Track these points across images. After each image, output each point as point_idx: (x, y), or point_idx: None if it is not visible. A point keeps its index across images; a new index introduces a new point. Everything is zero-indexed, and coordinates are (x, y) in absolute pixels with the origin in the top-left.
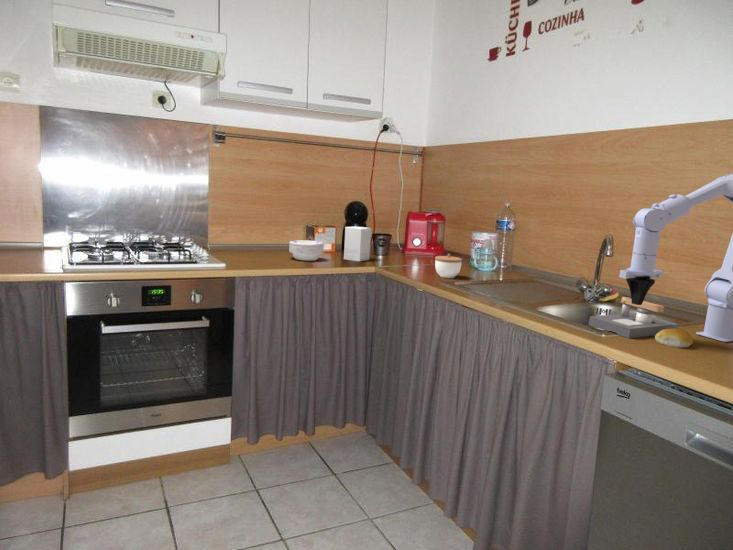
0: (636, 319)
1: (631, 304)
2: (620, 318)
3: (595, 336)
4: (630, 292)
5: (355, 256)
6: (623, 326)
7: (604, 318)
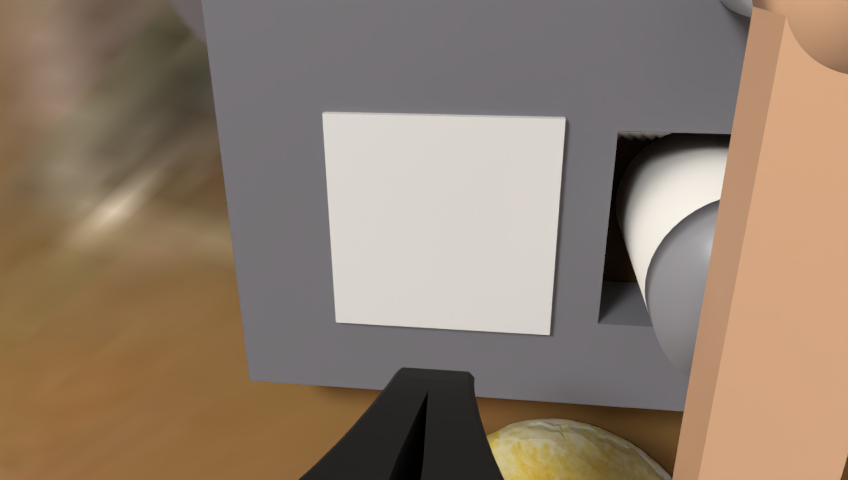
0: (644, 204)
1: (737, 130)
2: (542, 60)
3: (20, 214)
4: (326, 453)
5: None
6: (254, 310)
7: (313, 5)
